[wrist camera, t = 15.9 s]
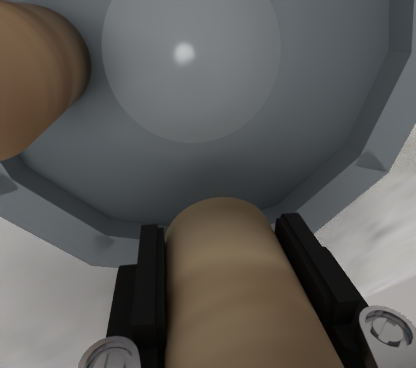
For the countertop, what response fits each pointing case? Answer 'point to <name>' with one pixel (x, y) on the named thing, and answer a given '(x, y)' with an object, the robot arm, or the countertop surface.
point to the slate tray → (251, 163)
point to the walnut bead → (37, 72)
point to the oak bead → (236, 294)
